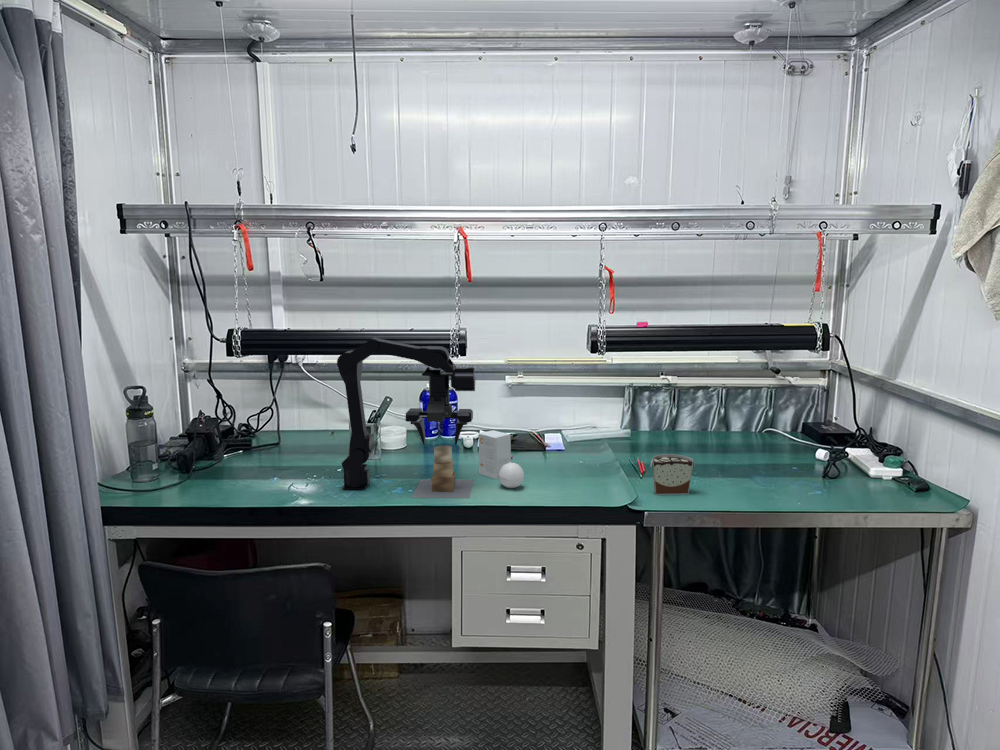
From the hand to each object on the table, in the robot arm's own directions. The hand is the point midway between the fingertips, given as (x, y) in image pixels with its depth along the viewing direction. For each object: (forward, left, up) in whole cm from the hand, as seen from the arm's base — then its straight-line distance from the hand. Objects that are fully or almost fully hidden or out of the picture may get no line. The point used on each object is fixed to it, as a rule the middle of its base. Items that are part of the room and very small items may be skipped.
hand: (440, 444), depth 182 cm
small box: (+15, +11, -13) cm, 23 cm away
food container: (+65, -2, -13) cm, 66 cm away
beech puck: (+1, -2, -4) cm, 5 cm away
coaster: (+1, -2, -13) cm, 13 cm away
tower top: (+1, -3, -8) cm, 9 cm away
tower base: (+1, -3, -12) cm, 13 cm away
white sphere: (+19, -1, -13) cm, 23 cm away
